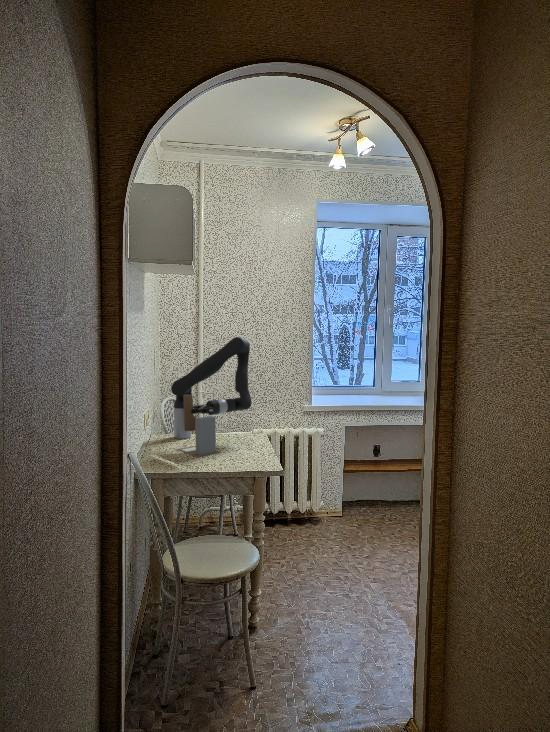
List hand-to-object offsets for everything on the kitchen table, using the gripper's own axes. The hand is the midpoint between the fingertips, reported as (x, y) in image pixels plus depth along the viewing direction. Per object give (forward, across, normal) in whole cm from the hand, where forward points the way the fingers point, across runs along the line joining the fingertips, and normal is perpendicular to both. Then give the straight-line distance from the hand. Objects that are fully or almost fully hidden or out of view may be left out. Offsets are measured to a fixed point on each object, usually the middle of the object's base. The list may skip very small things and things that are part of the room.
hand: (188, 410), depth 291 cm
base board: (-2, +5, +21) cm, 22 cm away
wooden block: (-2, 0, +10) cm, 10 cm away
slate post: (-2, +12, +20) cm, 23 cm away
